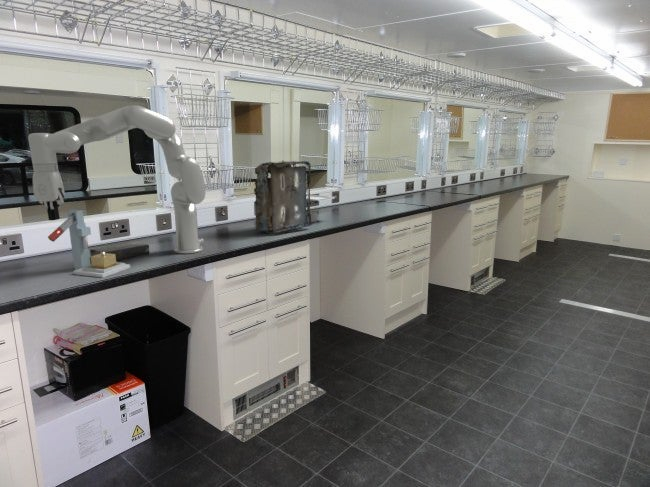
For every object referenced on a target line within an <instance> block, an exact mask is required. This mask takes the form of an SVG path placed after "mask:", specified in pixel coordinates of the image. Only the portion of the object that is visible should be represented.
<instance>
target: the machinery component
mask: <svg viewBox="0 0 650 487" xmlns="http://www.w3.org/2000/svg"><path fill="white" fill-rule="evenodd" d="M299 164H301V165H302V166H300V165H299ZM297 165H299V166H297ZM304 165H305V166H304ZM311 167H312V166H311V163H310V162H309V161H303V160H302V161H297V160H281V161H267V162H266V161H265V162H264V163H263V162H262V163H261V164H260V163H259V165H258V166H256V167H255V168H254V174H255V175H256V180H254V186H255V188H253V194H254V195H255V200H254V205H255V231H260V232H261V233H266V234H269V233H273V234H277V235H278V234H282V233H284V234H288V233H289V231H292V230H294V231H295V230H297V229H298V230H299V229H302V228H305V227H310V226H312V222H311V214H310V211H311V201H310V195H311ZM269 174H270V177H269ZM306 194H308V197H307V200H306V196H307V195H306ZM306 211H308V212H307V213H306ZM296 212H297V213H296ZM307 214H308V216H309V222H307Z"/></svg>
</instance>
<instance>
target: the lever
mask: <svg viewBox="0 0 650 487" xmlns="http://www.w3.org/2000/svg"><path fill="white" fill-rule="evenodd" d="M75 221H76V218H75V213H72V215H71V216H70V217H69V216H68V217H67V219H66V220H64V221H63V222H62V223H61V224H60V225H59V226H58V227H57V228H56V229H54V231H52V232H51V233H50V234H49V235H48V236H47V238H48V240H49V241H50V242H53V243H54V242H56V240H57V239H58V238H60V237H61V235H62V234H64V233H65V232H66V231H67V230H68V229H69V227H70V226H71V225H72V224H73V223H74V222H75Z"/></svg>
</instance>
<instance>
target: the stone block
mask: <svg viewBox="0 0 650 487" xmlns="http://www.w3.org/2000/svg"><path fill="white" fill-rule="evenodd" d="M101 252H105V253H109V254H115V256H116V262H119V261H125V260H128V259H133V258H138V257H143V256H148V255H149V254H150V245H149V244H146V243H139V242H127V243H122V244H115V245H109V246H103V247H97V248H91V249H90V248H89V256H90V257H91V256H94V255H98V254H101Z"/></svg>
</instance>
